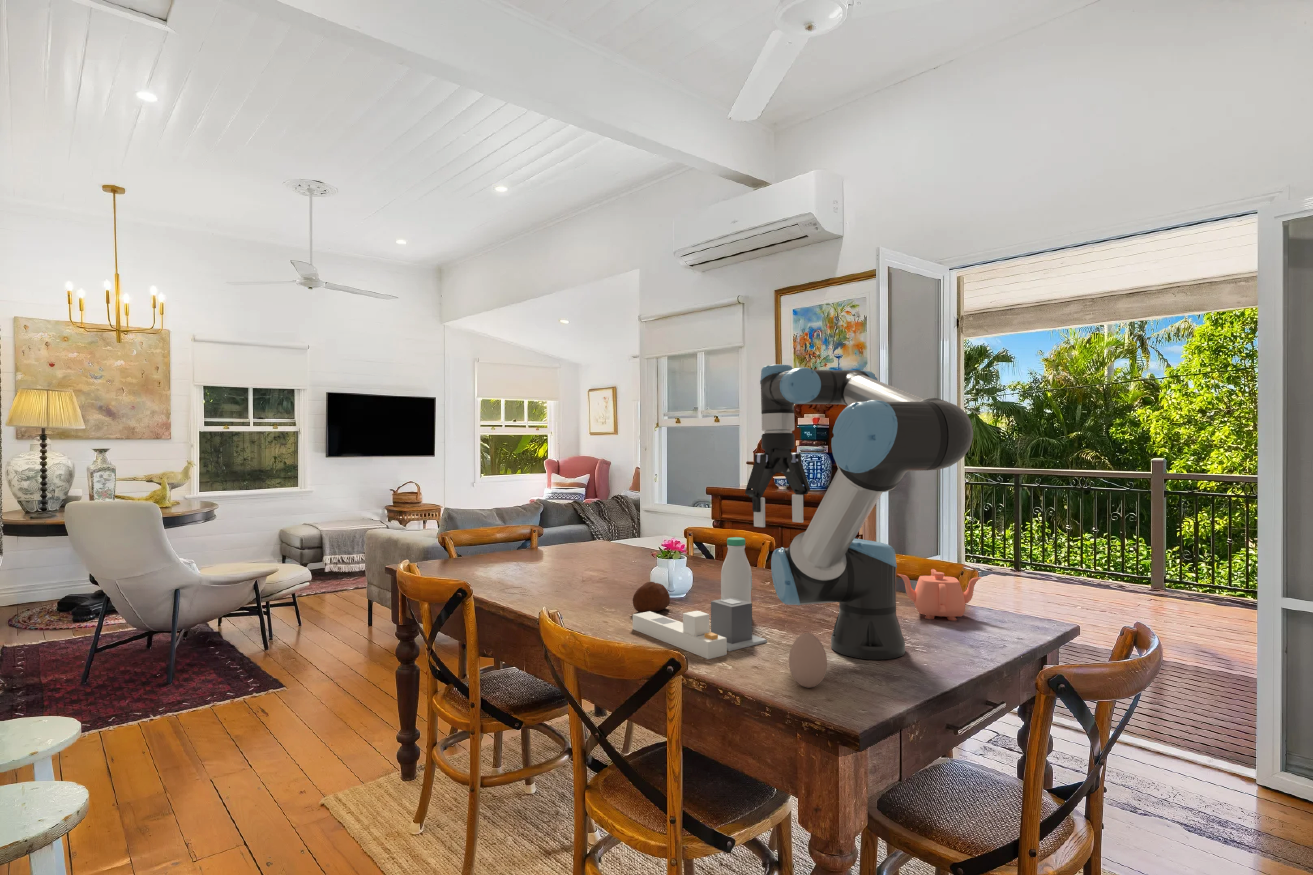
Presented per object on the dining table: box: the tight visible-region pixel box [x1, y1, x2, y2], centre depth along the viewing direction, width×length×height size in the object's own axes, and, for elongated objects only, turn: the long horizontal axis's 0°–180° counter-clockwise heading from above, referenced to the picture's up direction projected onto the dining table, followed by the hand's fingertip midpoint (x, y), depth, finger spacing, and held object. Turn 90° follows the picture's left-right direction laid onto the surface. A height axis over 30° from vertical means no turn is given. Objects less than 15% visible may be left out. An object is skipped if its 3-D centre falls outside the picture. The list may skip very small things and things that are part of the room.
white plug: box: [682, 610, 710, 636], centre depth 152 cm, size 4×4×4 cm
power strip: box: [632, 611, 728, 660], centre depth 158 cm, size 28×5×4 cm, turn 35°
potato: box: [632, 581, 671, 613], centre depth 185 cm, size 8×12×8 cm, turn 137°
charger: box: [710, 597, 753, 644], centre depth 158 cm, size 7×6×8 cm
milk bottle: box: [720, 536, 753, 604], centre depth 178 cm, size 8×8×20 cm
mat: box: [727, 634, 768, 652], centre depth 158 cm, size 11×11×1 cm
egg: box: [788, 632, 828, 689], centre depth 129 cm, size 7×7×10 cm
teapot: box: [897, 568, 983, 622], centre depth 178 cm, size 14×14×11 cm
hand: (779, 524), depth 164 cm, fingers open, 13 cm apart
